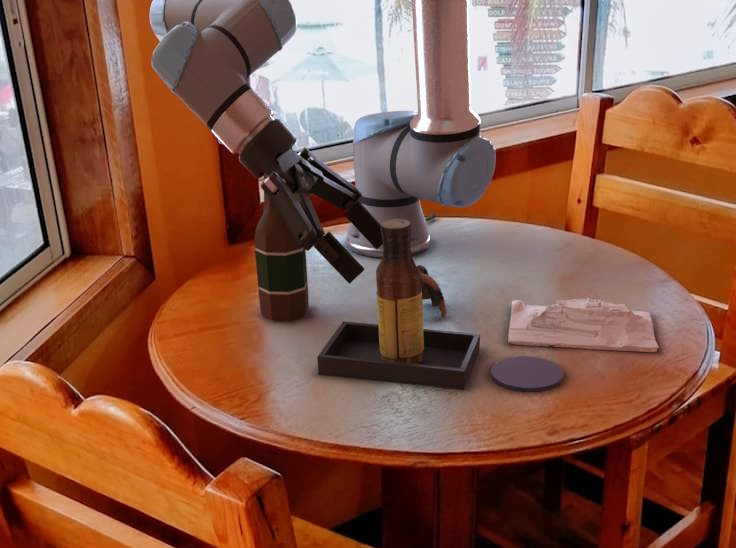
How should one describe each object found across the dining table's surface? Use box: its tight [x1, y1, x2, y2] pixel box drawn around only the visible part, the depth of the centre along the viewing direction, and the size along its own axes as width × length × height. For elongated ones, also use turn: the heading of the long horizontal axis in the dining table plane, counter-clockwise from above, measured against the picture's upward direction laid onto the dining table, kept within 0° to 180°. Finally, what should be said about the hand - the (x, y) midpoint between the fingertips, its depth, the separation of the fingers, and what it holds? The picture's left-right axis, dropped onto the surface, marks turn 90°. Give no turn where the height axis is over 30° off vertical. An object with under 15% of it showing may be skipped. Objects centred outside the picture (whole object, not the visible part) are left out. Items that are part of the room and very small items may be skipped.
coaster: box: [490, 355, 564, 393], centre depth 136 cm, size 10×10×1 cm
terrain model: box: [507, 297, 661, 353], centre depth 148 cm, size 17×23×5 cm
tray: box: [316, 320, 481, 391], centre depth 139 cm, size 13×21×3 cm, turn 77°
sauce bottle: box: [375, 219, 424, 364], centre depth 134 cm, size 7×6×20 cm
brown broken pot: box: [416, 264, 448, 319], centre depth 154 cm, size 12×10×8 cm
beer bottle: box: [254, 174, 309, 322], centre depth 148 cm, size 8×8×24 cm
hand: (371, 259), depth 132 cm, fingers open, 13 cm apart
